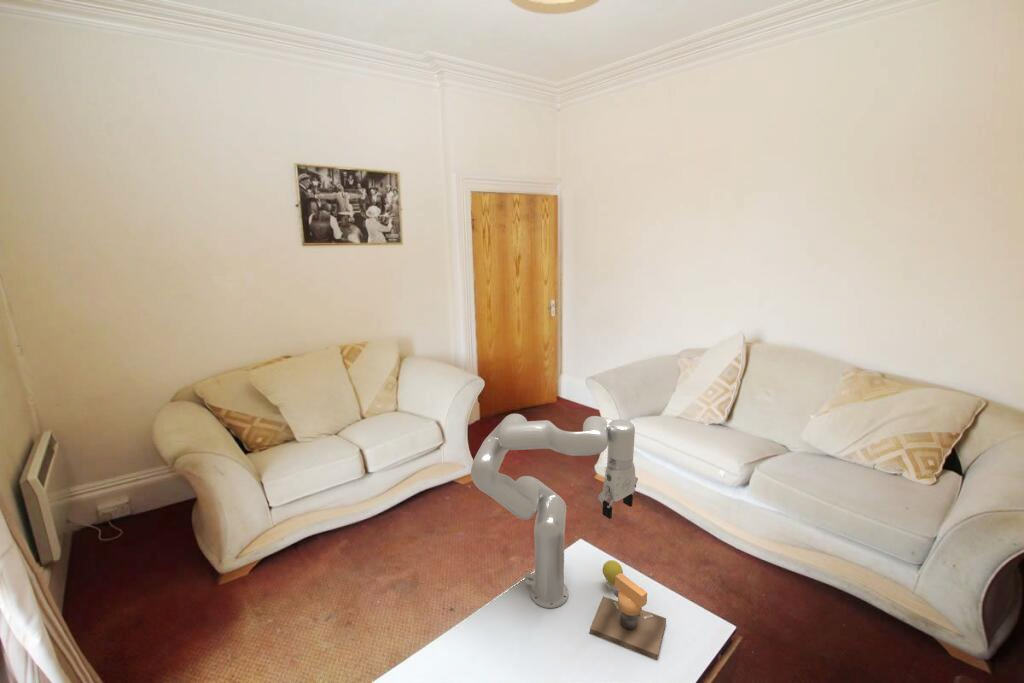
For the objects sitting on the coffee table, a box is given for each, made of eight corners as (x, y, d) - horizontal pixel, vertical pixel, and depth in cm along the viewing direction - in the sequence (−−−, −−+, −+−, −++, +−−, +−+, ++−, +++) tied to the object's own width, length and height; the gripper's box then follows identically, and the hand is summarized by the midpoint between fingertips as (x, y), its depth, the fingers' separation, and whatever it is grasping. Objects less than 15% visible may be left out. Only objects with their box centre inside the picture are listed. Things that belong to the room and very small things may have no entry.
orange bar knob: (650, 611, 140) (652, 588, 138) (635, 623, 136) (636, 600, 134) (622, 589, 148) (624, 568, 146) (607, 600, 144) (608, 578, 142)
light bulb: (621, 596, 156) (623, 571, 153) (601, 593, 157) (602, 568, 155) (621, 581, 162) (622, 557, 160) (601, 579, 164) (602, 554, 161)
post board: (589, 633, 142) (590, 612, 140) (602, 601, 154) (603, 580, 152) (657, 660, 133) (659, 637, 131) (665, 623, 145) (667, 602, 143)
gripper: (610, 475, 133) (608, 527, 137) (648, 456, 143) (644, 505, 147) (591, 465, 139) (589, 515, 143) (628, 447, 149) (625, 495, 153)
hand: (617, 510), depth 145 cm, fingers open, 9 cm apart
